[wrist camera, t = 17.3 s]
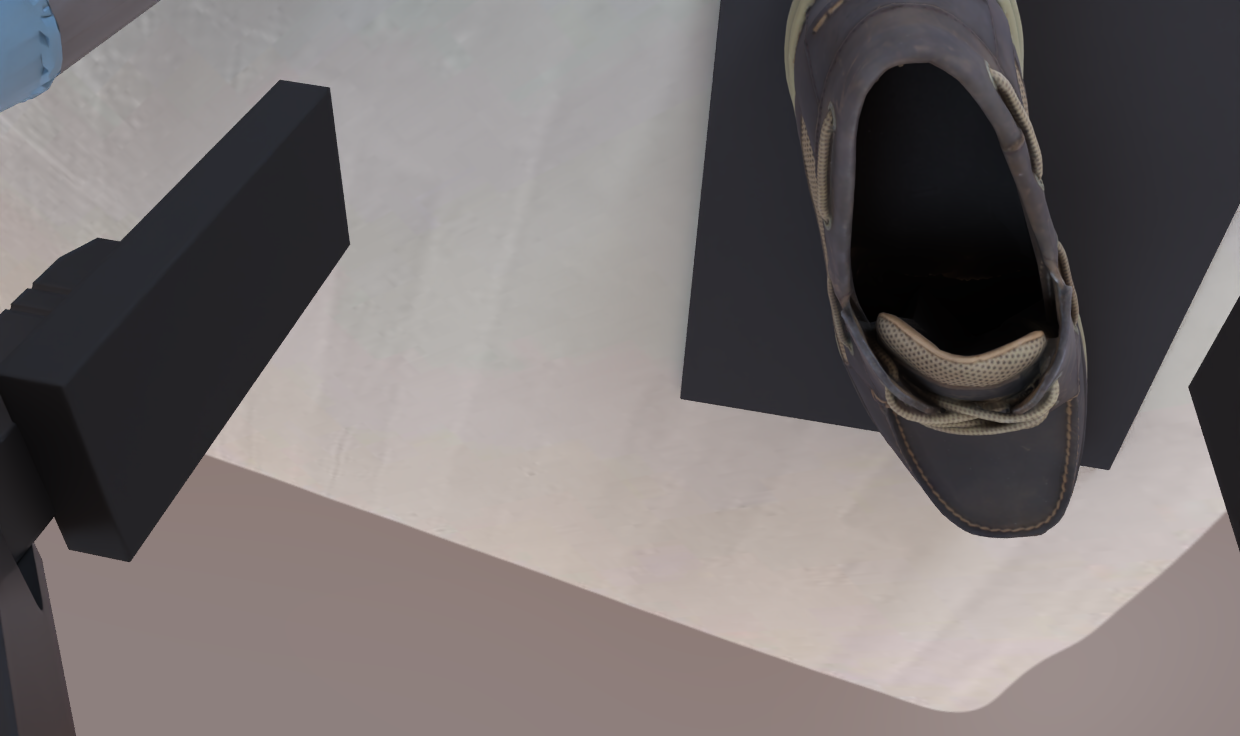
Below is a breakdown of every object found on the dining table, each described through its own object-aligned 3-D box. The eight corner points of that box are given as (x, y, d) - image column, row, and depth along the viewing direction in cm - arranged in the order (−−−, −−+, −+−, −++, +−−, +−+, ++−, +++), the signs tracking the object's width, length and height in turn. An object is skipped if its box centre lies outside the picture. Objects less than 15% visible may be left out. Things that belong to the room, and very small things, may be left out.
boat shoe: (899, 485, 57) (898, 651, 49) (700, -26, 42) (652, 95, 34) (1118, 452, 53) (1156, 629, 45) (986, -134, 37) (1008, -25, 29)
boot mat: (682, 389, 57) (679, 399, 56) (729, -69, 41) (726, -62, 41) (1107, 459, 54) (1109, 470, 54) (1330, -4, 38) (1337, 5, 38)
